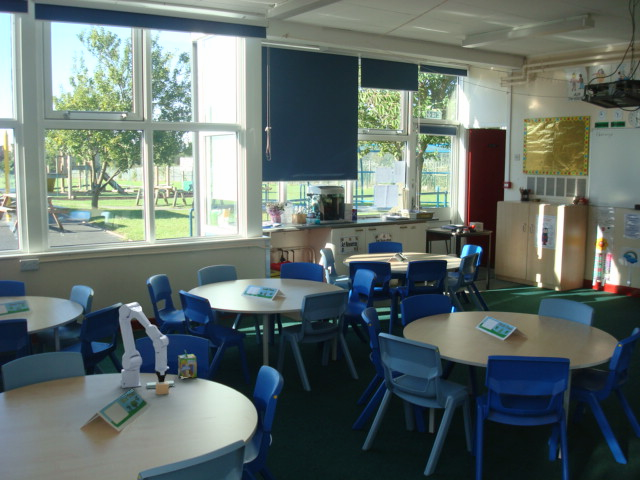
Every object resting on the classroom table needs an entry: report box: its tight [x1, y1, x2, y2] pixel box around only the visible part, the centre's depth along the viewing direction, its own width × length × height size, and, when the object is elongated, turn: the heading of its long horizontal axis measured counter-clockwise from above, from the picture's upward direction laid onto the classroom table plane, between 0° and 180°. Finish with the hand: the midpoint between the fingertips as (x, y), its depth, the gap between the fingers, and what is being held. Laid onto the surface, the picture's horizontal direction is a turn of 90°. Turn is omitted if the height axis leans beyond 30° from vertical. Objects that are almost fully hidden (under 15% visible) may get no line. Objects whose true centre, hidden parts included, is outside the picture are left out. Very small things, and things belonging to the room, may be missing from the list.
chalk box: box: [177, 349, 198, 379], centre depth 356 cm, size 9×9×15 cm
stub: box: [155, 381, 170, 395], centre depth 328 cm, size 6×5×5 cm
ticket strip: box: [145, 380, 175, 389], centre depth 338 cm, size 14×5×2 cm, turn 109°
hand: (161, 384), depth 332 cm, fingers closed
